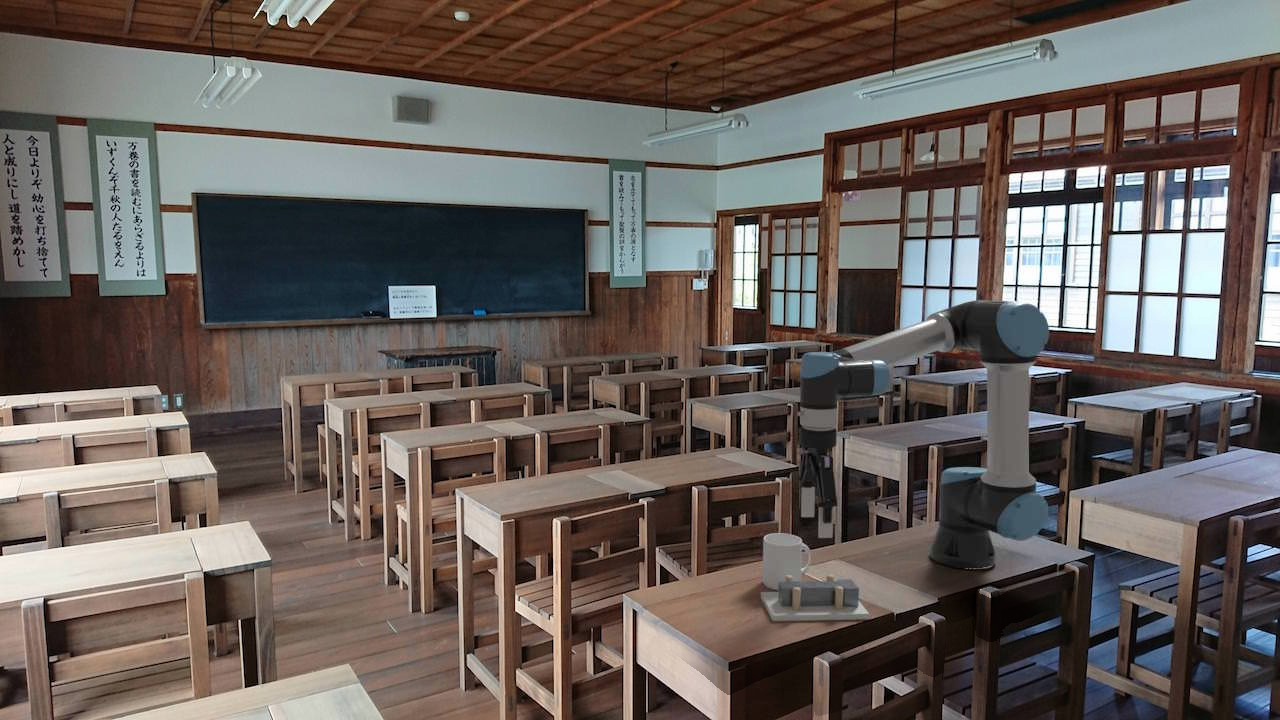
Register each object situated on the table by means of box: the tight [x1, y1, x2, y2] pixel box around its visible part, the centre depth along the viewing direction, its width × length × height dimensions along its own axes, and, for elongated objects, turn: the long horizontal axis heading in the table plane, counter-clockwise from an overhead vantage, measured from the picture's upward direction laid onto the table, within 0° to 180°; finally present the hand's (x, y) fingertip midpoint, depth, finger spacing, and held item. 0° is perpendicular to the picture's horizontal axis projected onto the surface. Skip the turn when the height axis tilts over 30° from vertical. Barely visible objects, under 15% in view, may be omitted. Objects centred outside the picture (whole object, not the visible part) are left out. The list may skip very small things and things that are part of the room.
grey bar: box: [777, 578, 860, 607], centre depth 169 cm, size 16×5×4 cm, turn 93°
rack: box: [760, 574, 870, 622], centre depth 169 cm, size 20×12×6 cm, turn 93°
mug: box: [762, 532, 812, 592], centre depth 182 cm, size 9×12×11 cm
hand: (816, 526), depth 167 cm, fingers open, 13 cm apart
